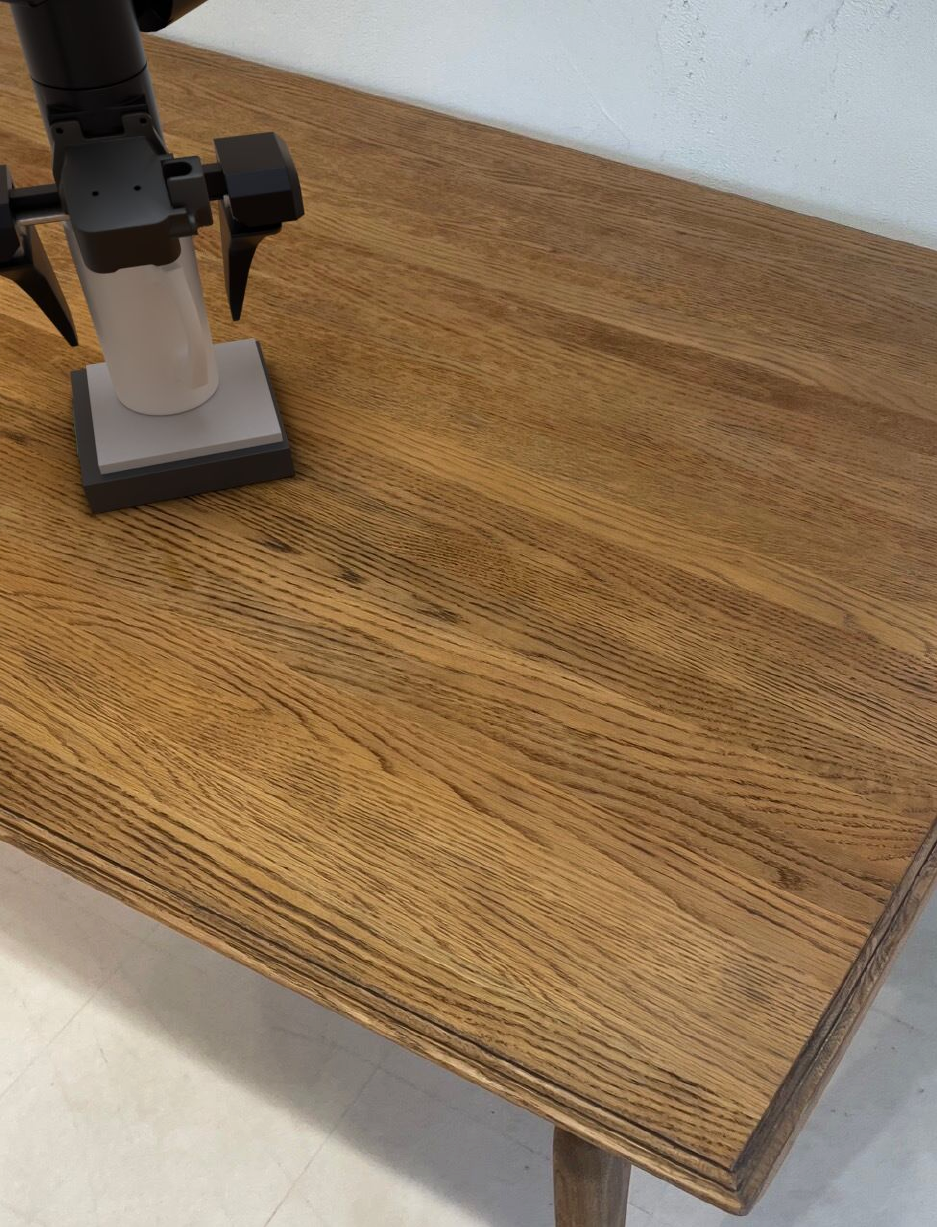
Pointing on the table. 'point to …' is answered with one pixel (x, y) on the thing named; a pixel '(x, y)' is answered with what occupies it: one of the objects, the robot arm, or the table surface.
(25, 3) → the robot arm
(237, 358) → the scale
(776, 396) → the table surface
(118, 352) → the mug
